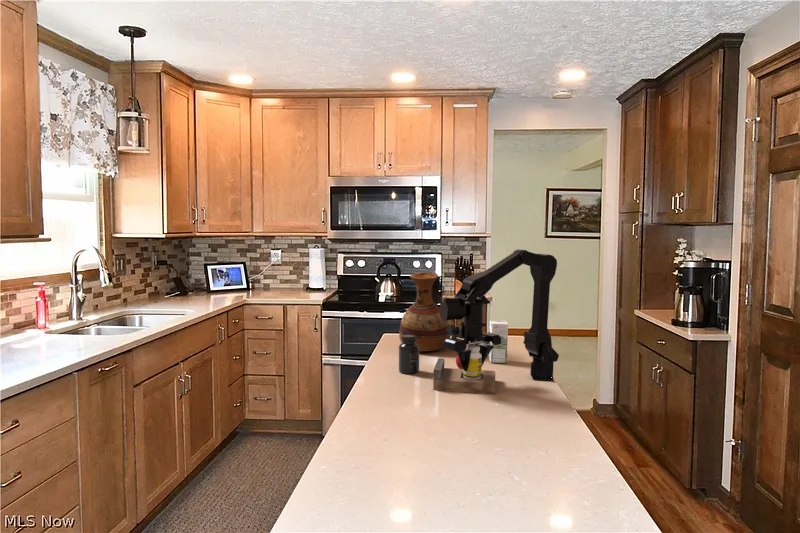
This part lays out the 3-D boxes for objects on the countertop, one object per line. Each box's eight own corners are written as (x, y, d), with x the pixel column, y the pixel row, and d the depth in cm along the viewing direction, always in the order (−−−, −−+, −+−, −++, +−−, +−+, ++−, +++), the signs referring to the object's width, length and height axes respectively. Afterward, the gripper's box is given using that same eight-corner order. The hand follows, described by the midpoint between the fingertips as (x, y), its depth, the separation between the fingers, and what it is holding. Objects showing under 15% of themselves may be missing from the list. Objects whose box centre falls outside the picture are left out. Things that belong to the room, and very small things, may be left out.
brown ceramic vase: (390, 351, 212) (392, 273, 209) (410, 341, 230) (411, 269, 228) (439, 357, 204) (441, 275, 202) (456, 346, 222) (458, 271, 220)
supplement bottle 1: (419, 369, 187) (420, 334, 186) (418, 374, 180) (419, 338, 179) (399, 368, 187) (400, 333, 186) (397, 374, 181) (397, 337, 180)
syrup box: (504, 359, 202) (505, 320, 200) (507, 363, 196) (508, 323, 194) (488, 359, 202) (489, 319, 200) (490, 363, 196) (491, 322, 195)
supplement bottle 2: (480, 380, 166) (481, 348, 165) (462, 379, 167) (463, 347, 166) (481, 375, 171) (482, 344, 171) (464, 374, 173) (464, 343, 172)
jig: (494, 380, 175) (495, 361, 175) (495, 393, 162) (495, 373, 161) (437, 376, 178) (438, 358, 178) (433, 389, 164) (433, 369, 164)
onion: (467, 375, 181) (467, 350, 180) (452, 372, 184) (452, 348, 184) (476, 371, 185) (476, 347, 185) (461, 368, 189) (461, 345, 188)
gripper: (477, 312, 180) (476, 359, 181) (432, 317, 169) (431, 368, 170) (503, 317, 171) (501, 367, 172) (456, 323, 160) (455, 376, 161)
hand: (472, 369), depth 169 cm, fingers closed on supplement bottle 2, 5 cm apart
